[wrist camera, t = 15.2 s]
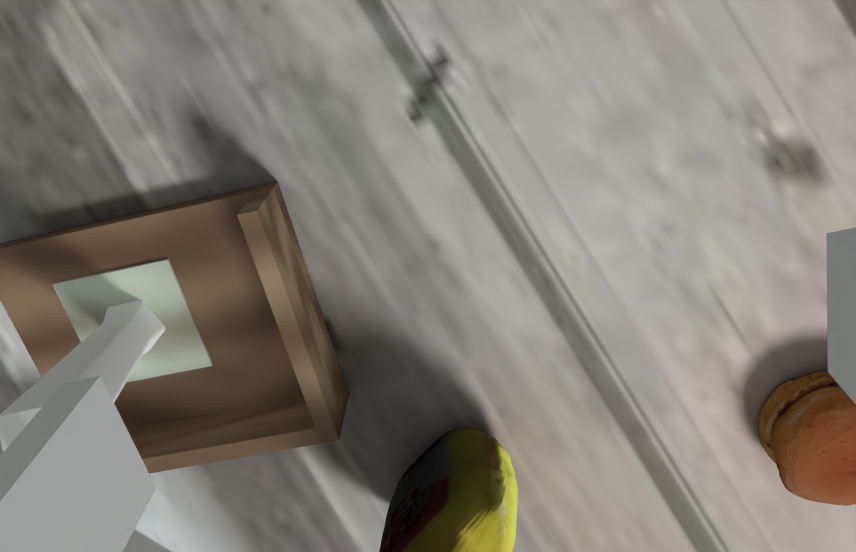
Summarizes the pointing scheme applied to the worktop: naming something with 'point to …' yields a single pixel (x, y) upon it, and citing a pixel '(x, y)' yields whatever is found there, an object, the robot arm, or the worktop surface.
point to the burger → (812, 438)
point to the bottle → (455, 498)
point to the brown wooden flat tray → (191, 324)
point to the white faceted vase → (90, 363)
